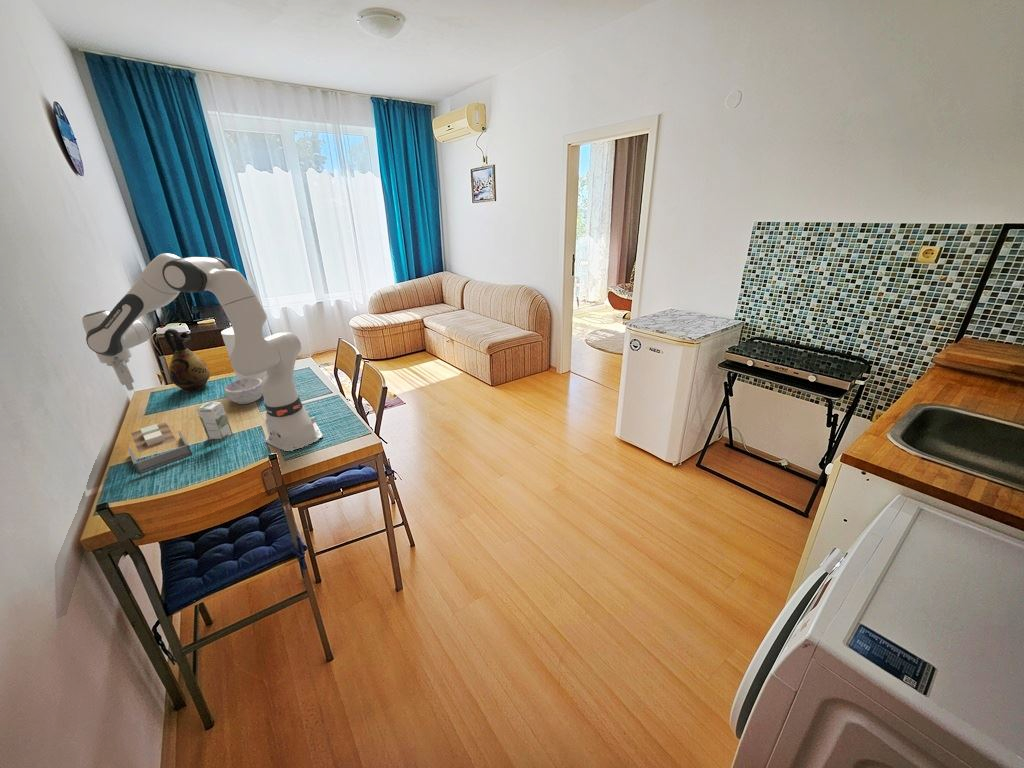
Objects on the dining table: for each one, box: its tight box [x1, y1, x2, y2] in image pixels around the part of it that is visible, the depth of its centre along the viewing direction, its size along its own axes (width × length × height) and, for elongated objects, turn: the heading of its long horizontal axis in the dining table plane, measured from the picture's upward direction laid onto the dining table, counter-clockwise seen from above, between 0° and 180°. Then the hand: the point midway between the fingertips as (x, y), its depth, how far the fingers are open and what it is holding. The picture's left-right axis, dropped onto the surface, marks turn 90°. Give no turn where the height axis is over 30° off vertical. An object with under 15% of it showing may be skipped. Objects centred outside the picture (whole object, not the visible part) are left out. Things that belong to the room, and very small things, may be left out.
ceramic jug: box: [163, 328, 211, 393], centre depth 194 cm, size 17×15×30 cm
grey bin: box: [127, 430, 194, 476], centre depth 146 cm, size 15×15×4 cm
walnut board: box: [130, 422, 177, 453], centre depth 157 cm, size 20×11×2 cm, turn 47°
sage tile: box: [140, 423, 160, 436], centre depth 158 cm, size 5×5×2 cm
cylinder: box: [220, 326, 266, 381], centre depth 199 cm, size 17×17×28 cm
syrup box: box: [196, 401, 233, 440], centre depth 154 cm, size 6×6×14 cm
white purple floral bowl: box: [224, 378, 263, 405], centre depth 186 cm, size 15×15×8 cm
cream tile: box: [144, 431, 165, 446], centre depth 153 cm, size 5×5×2 cm
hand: (130, 388), depth 156 cm, fingers open, 2 cm apart
